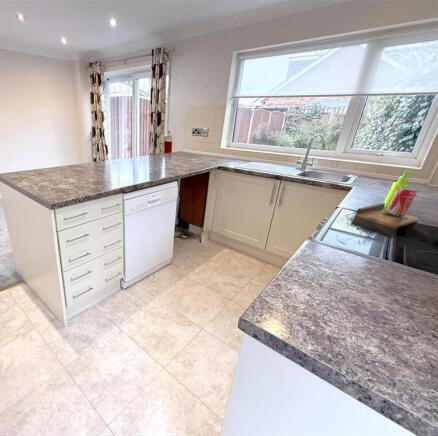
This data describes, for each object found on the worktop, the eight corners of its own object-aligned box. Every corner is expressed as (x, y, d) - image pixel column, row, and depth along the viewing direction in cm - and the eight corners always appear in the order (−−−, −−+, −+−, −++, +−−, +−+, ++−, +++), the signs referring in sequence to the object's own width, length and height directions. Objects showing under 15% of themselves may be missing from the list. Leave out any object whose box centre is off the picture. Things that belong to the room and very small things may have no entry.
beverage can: (383, 210, 112) (396, 185, 107) (401, 214, 109) (415, 188, 104) (387, 215, 107) (400, 188, 102) (406, 218, 104) (420, 191, 99)
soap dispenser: (397, 210, 130) (416, 173, 122) (381, 206, 135) (398, 170, 127) (400, 208, 133) (419, 172, 125) (384, 204, 138) (401, 169, 130)
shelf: (413, 228, 108) (421, 214, 106) (390, 236, 99) (398, 221, 96) (376, 216, 120) (382, 203, 117) (351, 222, 110) (358, 208, 108)
